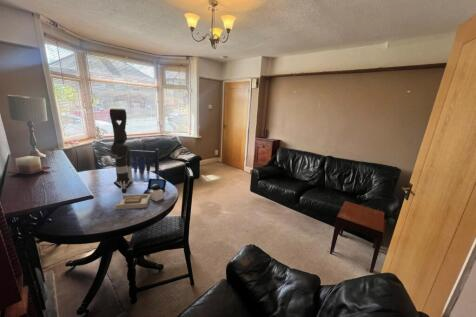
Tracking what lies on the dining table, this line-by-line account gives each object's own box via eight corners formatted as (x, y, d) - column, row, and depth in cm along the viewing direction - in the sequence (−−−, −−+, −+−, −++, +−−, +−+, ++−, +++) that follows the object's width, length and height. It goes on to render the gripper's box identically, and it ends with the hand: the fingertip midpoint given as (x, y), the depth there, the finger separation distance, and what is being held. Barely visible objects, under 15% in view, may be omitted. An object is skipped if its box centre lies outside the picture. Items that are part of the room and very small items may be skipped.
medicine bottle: (163, 198, 165) (162, 184, 162) (156, 201, 159) (155, 187, 156) (157, 196, 168) (157, 182, 165) (150, 199, 162) (149, 185, 159)
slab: (127, 196, 157) (141, 196, 159) (127, 200, 158) (141, 199, 160) (124, 201, 149) (138, 200, 152) (124, 205, 150) (139, 204, 152)
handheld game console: (143, 194, 171) (142, 184, 168) (149, 187, 183) (149, 178, 181) (161, 195, 171) (161, 185, 168) (166, 188, 184) (166, 179, 181)
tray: (123, 198, 161) (123, 194, 160) (150, 197, 166) (150, 193, 165) (115, 209, 145) (115, 205, 144) (146, 207, 150) (146, 203, 149)
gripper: (133, 169, 152) (135, 190, 157) (114, 169, 149) (116, 191, 154) (130, 172, 145) (132, 194, 150) (110, 173, 142) (112, 195, 147)
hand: (124, 192), depth 152 cm, fingers closed
